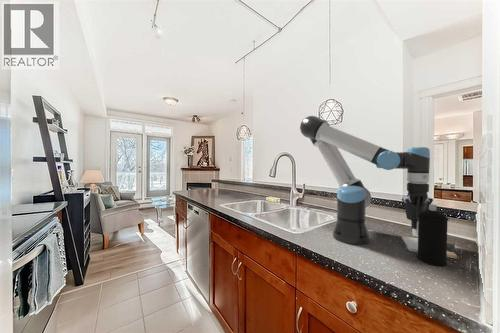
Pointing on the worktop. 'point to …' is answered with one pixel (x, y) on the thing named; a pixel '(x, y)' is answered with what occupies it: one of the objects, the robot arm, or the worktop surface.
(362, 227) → the robot arm
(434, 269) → the worktop surface
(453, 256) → the door leaf
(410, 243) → the jamb plate
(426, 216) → the aerosol can
